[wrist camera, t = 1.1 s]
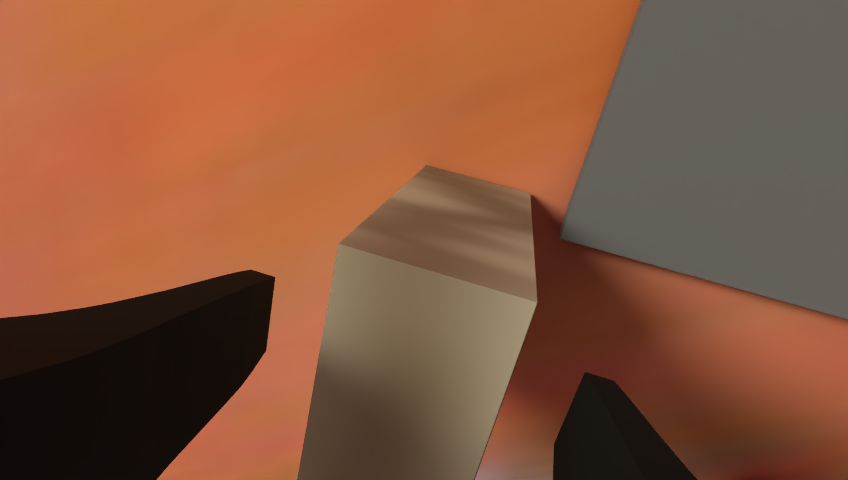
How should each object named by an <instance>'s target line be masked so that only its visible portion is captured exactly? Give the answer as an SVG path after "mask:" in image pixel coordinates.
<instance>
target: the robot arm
mask: <svg viewBox="0 0 848 480" xmlns="http://www.w3.org/2000/svg"><path fill="white" fill-rule="evenodd" d="M274 282H275V277H273V276H270V275H266V274H263V273H260V272H257V271H253V270H247V271H241V272H236V273H232V274H227V275H223V276H219V277H216V278H212V279H208V280H204V281H200V282H197V283H193V284H189V285H185V286H181V287H177V288H174V289H170V290H166V291H162V292H157V293H153V294H148V295H144V296H140V297H135V298H131V299H126V300H122V301H117V302H113V303H108V304H103V305H97V306H92V307H86V308H80V309H73V310H67V311H60V312H53V313H46V314H38V315H28V316H18V317H8V318H0V480H157V478H158V477H159V476H160V475H161V474H162V473H163V471H164V470H165V469H166V468H167V467H168V465H169V464H170V463H171V462H172V461H173V460H174V459H175V458H176V457H177V456H178V454H179V453H180V452H181V451H182V450H183V449H184V448H185V447H186V446H187V445H188V444H189V443H190V441H191V440H192V439H193V438H194V437H195V436H196V435H197V434H198V433H199V432H200V431H201V430H202V429H203V427H204V426H205V425H206V424H207V423H208V422H209V421H210V420H211V419H212V418H213V417H214V416H215V414H216V413H217V412H218V411H219V410H220V409H221V408H222V407H223V406H224V405H225V404H226V402H227V401H228V400H229V399H230V398H231V397H232V396H233V395H234V394H235V393H236V391H237V390H238V389H239V388H240V387H241V386H242V384H243V383H244V382H245V380H246V379H247V378H248V376H249V375H250V373H251V372H252V371H253V369H254V368H255V366H256V365H257V363H258V362H259V360H260V359H261V357H262V356H263V354H264V353H265V351H266V347H267V339H268V331H269V323H270V315H271V307H272V298H273V290H274ZM553 480H697V479H696V478H695V477H694V475H693V474H692V473H691V472H690V471H689V470H688V469H687V467H686V466H685V465H684V464H683V463H682V462H681V461H680V459H679V458H678V457H677V456H676V455H675V454H674V452H673V451H672V450H671V449H670V448H669V446H668V445H667V444H666V443H665V442H664V440H663V439H662V438H661V437H660V436H659V434H658V433H657V432H656V431H655V430H654V428H653V427H652V426H651V425H650V423H649V422H648V421H647V420H646V419H645V417H644V416H643V415H642V414H641V412H640V411H639V410H638V409H637V407H636V406H635V405H634V404H633V403H632V401H631V400H630V399H629V398H628V397H627V395H626V394H625V393H624V392H623V391H622V390H621V388H620V387H619V386H618V385H617V384H616V383H615V382H614V381H612V380H609V379H606V378H602V377H599V376H596V375H593V374H589V373H586V372H585V373H584V376H583V378H582V380H581V383H580V385H579V387H578V390H577V392H576V394H575V397H574V399H573V401H572V404H571V406H570V408H569V411H568V413H567V415H566V418H565V420H564V422H563V425H562V427H561V429H560V432H559V434H558V436H557V439H556V441H555V443H554V463H553Z"/></svg>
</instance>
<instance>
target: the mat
mask: <svg viewBox="0 0 848 480" xmlns="http://www.w3.org/2000/svg"><path fill="white" fill-rule="evenodd" d="M559 237H560V239H562V240H566V241H569V242H573V243H577V244H580V245H584V246H587V247H591V248H594V249H598V250H602V251H605V252H609V253H612V254H616V255H619V256H623V257H627V258H630V259H634V260H637V261H641V262H644V263H648V264H652V265H655V266H659V267H662V268H666V269H669V270H673V271H677V272H680V273H684V274H687V275H691V276H694V277H698V278H702V279H705V280H709V281H712V282H716V283H719V284H723V285H727V286H730V287H734V288H737V289H741V290H744V291H748V292H751V293H755V294H759V295H762V296H766V297H769V298H773V299H776V300H780V301H784V302H787V303H791V304H794V305H798V306H801V307H805V308H809V309H812V310H816V311H819V312H823V313H826V314H830V315H834V316H837V317H841V318H844V319H848V0H641V3H640V6H639V8H638V11H637V14H636V17H635V20H634V22H633V25H632V28H631V31H630V34H629V36H628V39H627V42H626V45H625V48H624V51H623V53H622V56H621V59H620V62H619V65H618V67H617V70H616V73H615V76H614V79H613V81H612V84H611V87H610V90H609V93H608V95H607V98H606V101H605V104H604V107H603V109H602V112H601V115H600V118H599V121H598V124H597V126H596V129H595V132H594V135H593V138H592V140H591V143H590V146H589V149H588V152H587V154H586V157H585V160H584V163H583V166H582V168H581V171H580V174H579V177H578V180H577V183H576V185H575V188H574V191H573V194H572V197H571V199H570V202H569V205H568V208H567V211H566V213H565V216H564V219H563V222H562V225H561V227H560V230H559Z"/></svg>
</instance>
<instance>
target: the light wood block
mask: <svg viewBox="0 0 848 480" xmlns="http://www.w3.org/2000/svg"><path fill="white" fill-rule="evenodd" d="M536 305H537V288H536V273H535V258H534V243H533V228H532V212H531V197H530V193H527V192H523V191H519V190H516V189H512V188H508V187H505V186H501V185H497V184H494V183H490V182H486V181H483V180H479V179H475V178H472V177H468V176H464V175H461V174H457V173H453V172H449V171H446V170H442V169H438V168H435V167H431V166H427V165H426V166H425V167H424V168H423V169H422V170H421V171H420V172H418V173H417V174H416V175H415V176H414V177H413V178H412V179H411V180H409V181H408V182H407V183H406V184H405V185H404V186H403V187H402V188H400V189H399V190H398V191H397V192H396V193H395V194H394V195H393V196H392V197H390V198H389V199H388V200H387V201H386V202H385V203H384V204H383V205H381V206H380V207H379V208H378V209H377V210H376V211H375V212H374V213H373V214H371V215H370V216H369V217H368V218H367V219H366V220H365V221H364V222H362V223H361V224H360V225H359V226H358V227H357V228H356V229H355V230H353V231H352V232H351V233H350V234H349V235H348V236H347V237H346V238H345V239H343V240H342V241H341V242H340V243H339V245H338V251H337V256H336V262H335V268H334V273H333V279H332V285H331V290H330V296H329V302H328V308H327V313H326V319H325V325H324V330H323V336H322V342H321V347H320V353H319V359H318V365H317V370H316V376H315V382H314V387H313V393H312V399H311V404H310V410H309V416H308V422H307V427H306V433H305V439H304V444H303V450H302V456H301V461H300V467H299V473H298V479H297V480H475V477H476V474H477V471H478V468H479V466H480V463H481V460H482V457H483V455H484V452H485V449H486V446H487V443H488V441H489V438H490V435H491V432H492V429H493V427H494V424H495V421H496V418H497V416H498V413H499V410H500V407H501V404H502V402H503V399H504V396H505V393H506V391H507V388H508V385H509V382H510V379H511V377H512V374H513V371H514V368H515V366H516V363H517V360H518V357H519V354H520V352H521V349H522V346H523V343H524V341H525V338H526V335H527V332H528V329H529V327H530V324H531V321H532V318H533V316H534V311H535V308H536Z"/></svg>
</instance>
